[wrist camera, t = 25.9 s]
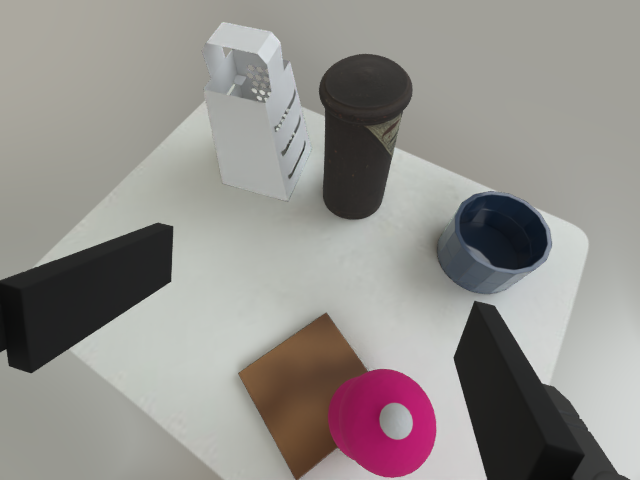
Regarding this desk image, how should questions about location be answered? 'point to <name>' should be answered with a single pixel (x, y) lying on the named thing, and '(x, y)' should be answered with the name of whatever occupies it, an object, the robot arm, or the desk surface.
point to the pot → (493, 242)
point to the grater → (254, 112)
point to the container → (361, 130)
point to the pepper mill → (383, 422)
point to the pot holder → (302, 390)
